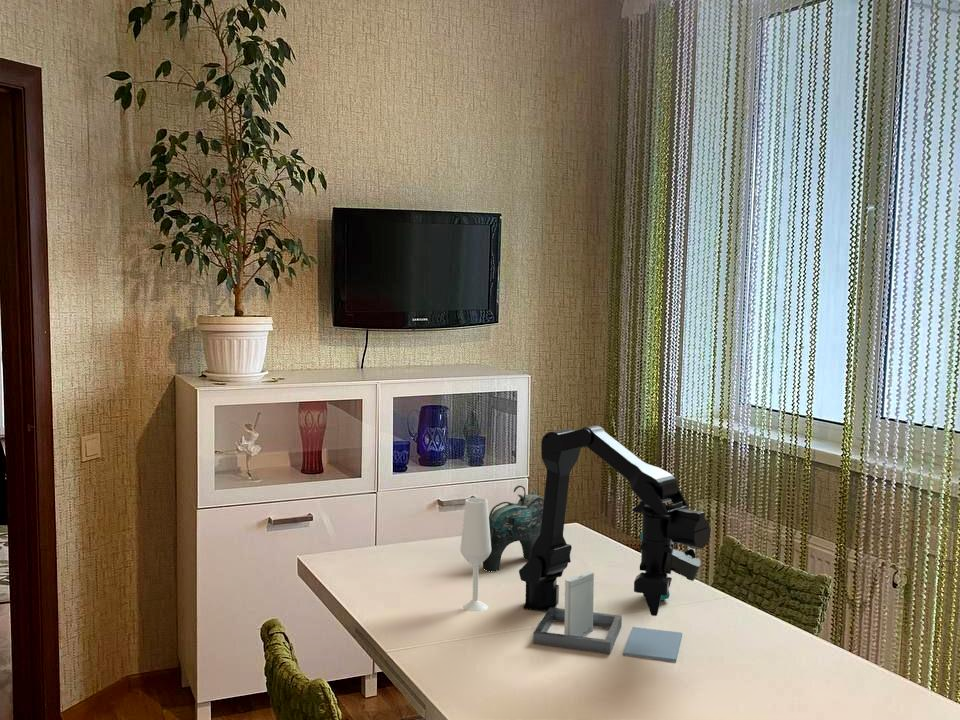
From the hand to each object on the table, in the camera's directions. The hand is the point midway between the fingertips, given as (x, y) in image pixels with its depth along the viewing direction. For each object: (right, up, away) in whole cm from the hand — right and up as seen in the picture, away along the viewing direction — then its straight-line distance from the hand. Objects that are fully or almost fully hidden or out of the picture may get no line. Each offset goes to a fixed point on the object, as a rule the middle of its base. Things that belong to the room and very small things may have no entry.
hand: (654, 615), depth 186 cm
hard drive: (-14, -6, +5) cm, 16 cm away
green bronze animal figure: (-26, -2, +51) cm, 57 cm away
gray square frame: (-14, -6, +5) cm, 16 cm away
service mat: (0, -6, +1) cm, 6 cm away
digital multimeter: (+5, -4, +28) cm, 29 cm away
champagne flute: (-35, -4, +20) cm, 41 cm away
